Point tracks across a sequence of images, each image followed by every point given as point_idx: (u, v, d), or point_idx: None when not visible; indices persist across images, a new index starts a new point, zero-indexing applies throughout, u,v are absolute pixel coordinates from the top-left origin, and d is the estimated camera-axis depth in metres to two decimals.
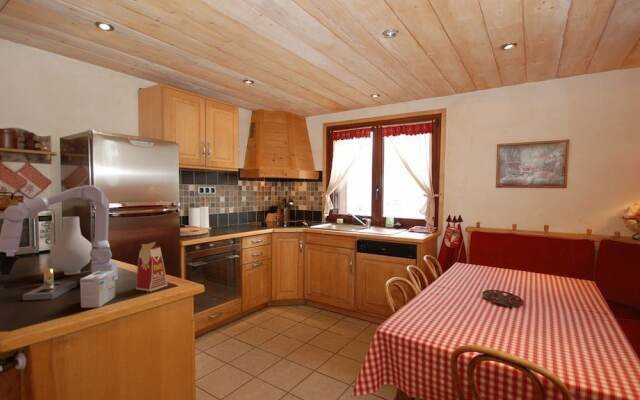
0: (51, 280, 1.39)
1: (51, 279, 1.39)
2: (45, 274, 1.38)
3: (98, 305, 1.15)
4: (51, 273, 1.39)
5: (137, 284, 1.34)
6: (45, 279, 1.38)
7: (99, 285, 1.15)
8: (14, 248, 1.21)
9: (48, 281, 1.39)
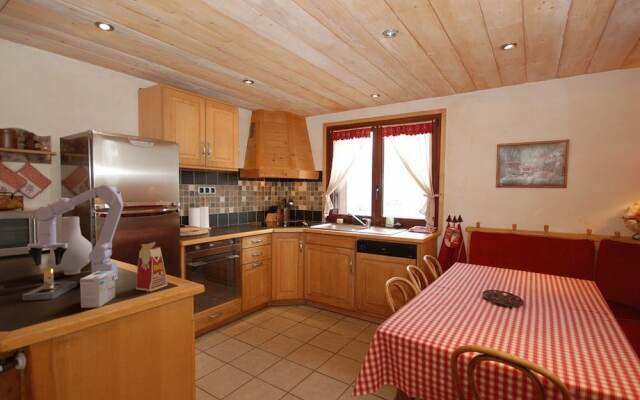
0: (51, 280, 1.39)
1: (51, 279, 1.39)
2: (45, 274, 1.38)
3: (98, 305, 1.15)
4: (51, 273, 1.39)
5: (137, 284, 1.34)
6: (45, 279, 1.38)
7: (99, 285, 1.15)
8: None
9: (48, 281, 1.39)
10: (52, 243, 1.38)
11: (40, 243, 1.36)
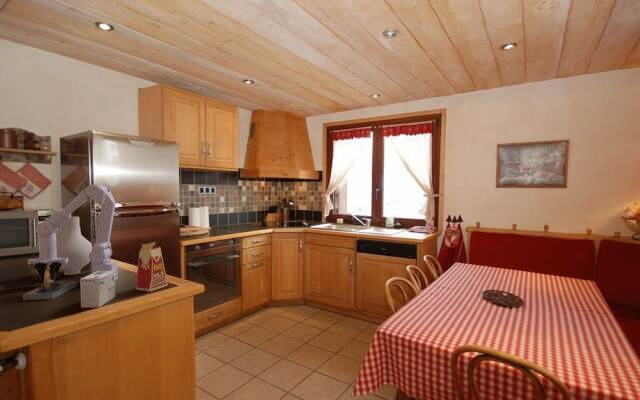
0: (51, 280, 1.39)
1: None
2: (45, 274, 1.38)
3: (98, 305, 1.15)
4: None
5: (137, 284, 1.34)
6: (45, 279, 1.38)
7: (99, 285, 1.15)
8: (56, 257, 1.41)
9: (48, 281, 1.39)
10: (52, 258, 1.39)
11: (40, 258, 1.37)
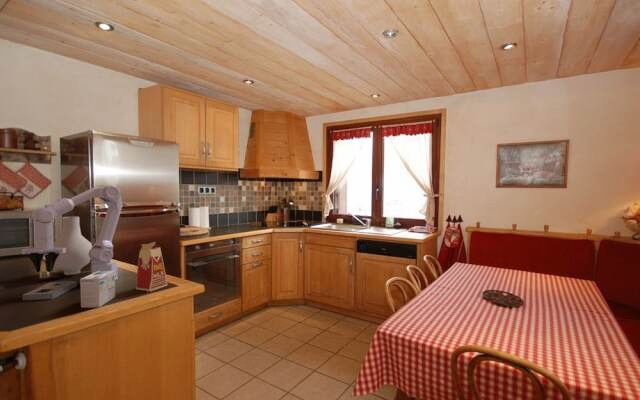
0: (48, 272, 1.28)
1: None
2: (41, 265, 1.26)
3: (98, 305, 1.15)
4: None
5: (137, 284, 1.34)
6: (41, 270, 1.26)
7: (99, 285, 1.15)
8: (53, 247, 1.29)
9: (45, 273, 1.27)
10: (49, 248, 1.26)
11: (35, 248, 1.25)
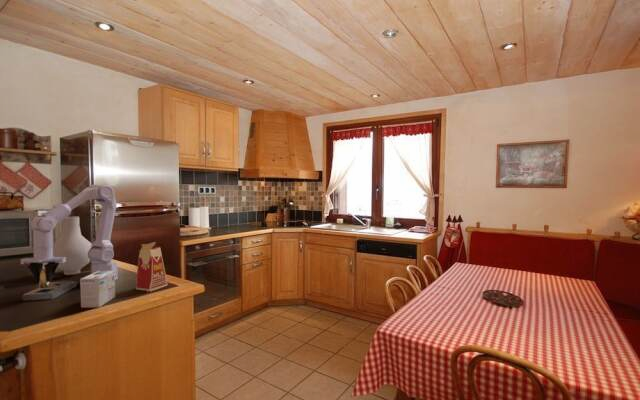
0: (48, 282, 1.25)
1: None
2: (41, 275, 1.24)
3: (98, 305, 1.15)
4: None
5: (137, 284, 1.34)
6: (41, 281, 1.24)
7: (99, 285, 1.15)
8: None
9: (44, 283, 1.24)
10: (48, 257, 1.24)
11: (35, 258, 1.22)
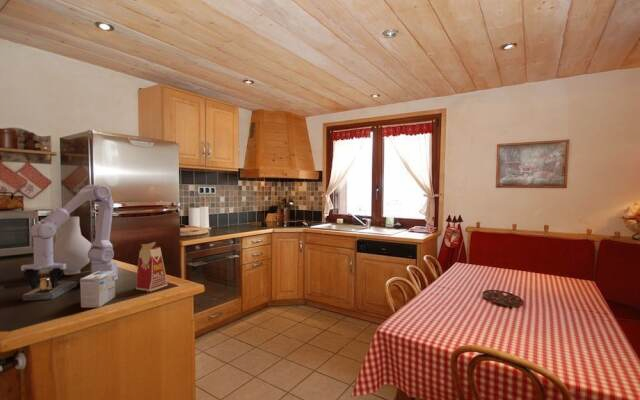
0: (48, 291, 1.25)
1: (48, 290, 1.25)
2: (41, 284, 1.24)
3: (98, 305, 1.15)
4: (48, 283, 1.25)
5: (137, 284, 1.34)
6: (41, 290, 1.24)
7: (99, 285, 1.15)
8: None
9: None
10: (49, 264, 1.24)
11: (35, 264, 1.22)
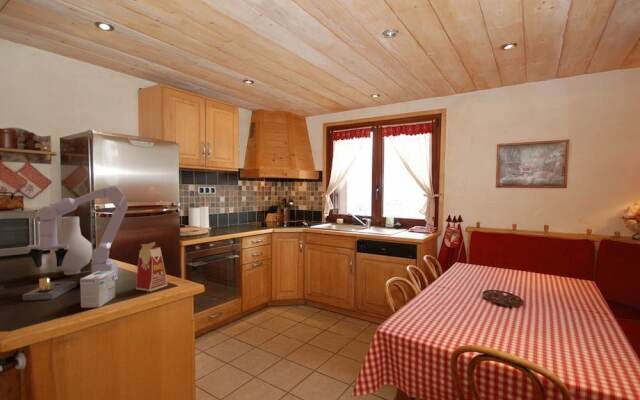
0: (48, 291, 1.25)
1: (48, 290, 1.25)
2: (41, 284, 1.24)
3: (98, 305, 1.15)
4: (48, 283, 1.25)
5: (137, 284, 1.34)
6: (41, 290, 1.24)
7: (99, 285, 1.15)
8: None
9: None
10: (53, 244, 1.34)
11: (41, 244, 1.32)
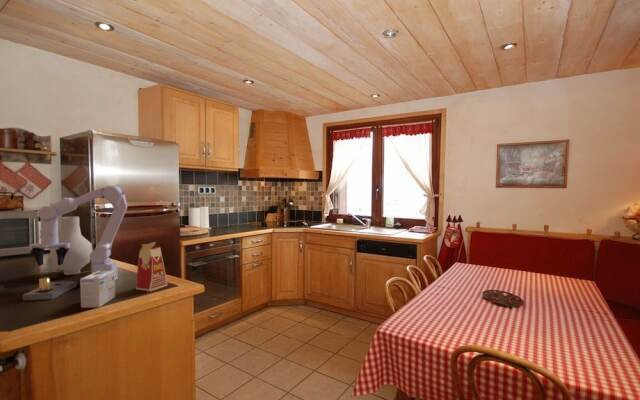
0: (48, 291, 1.25)
1: (48, 290, 1.25)
2: (41, 284, 1.24)
3: (98, 305, 1.15)
4: (48, 283, 1.25)
5: (137, 284, 1.34)
6: (41, 290, 1.24)
7: (99, 285, 1.15)
8: None
9: None
10: (54, 243, 1.37)
11: (42, 243, 1.35)
